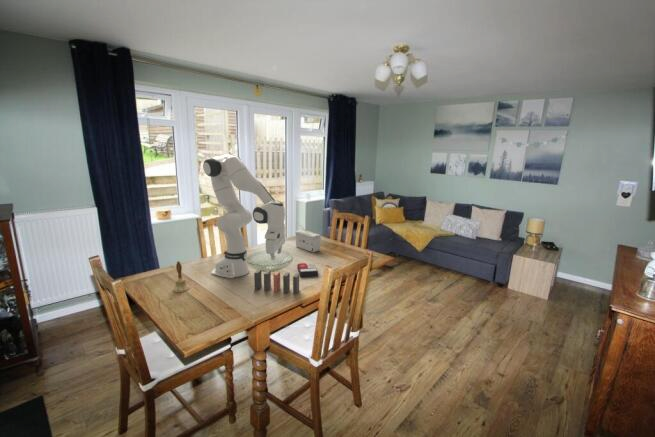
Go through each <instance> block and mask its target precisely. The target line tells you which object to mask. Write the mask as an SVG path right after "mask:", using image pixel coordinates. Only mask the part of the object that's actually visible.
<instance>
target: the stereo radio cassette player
mask: <svg viewBox="0 0 655 437" xmlns="http://www.w3.org/2000/svg"><path fill="white" fill-rule="evenodd" d="M296 223H297V224H299V223H298V222H296ZM299 227H301V228H302V229H298V230H295V246H296V247H297V248H299V249H303V250H305V251H308V252H311V253H315V252H319V251H320V250H321V243H322V242H321V241H322V240H321V239H322V238H321V234H318V233H315V232H312V231H309V230H307V229H305V228H304V227H303V226H302V225H301V224H299Z"/></svg>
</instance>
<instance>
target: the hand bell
mask: <svg viewBox="0 0 655 437" xmlns="http://www.w3.org/2000/svg"><path fill="white" fill-rule="evenodd" d="M175 268H176V271H177V277H178V278H177V279H176V281H175V286H174V287H173V289H172V291H173V292H174V293H184V292H186V290H187V291H188V290H190V288H191V287H190V285H188V284H187V282H186V279H185V278H183V276H182V269H183V268H182V264H181V262H180V261H179V260H178V261H176V266H175Z"/></svg>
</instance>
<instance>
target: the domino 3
mask: <svg viewBox="0 0 655 437" xmlns="http://www.w3.org/2000/svg"><path fill="white" fill-rule="evenodd" d="M280 289H281V271H275V273H273V292H274V293H278V292H279V291H280Z"/></svg>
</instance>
